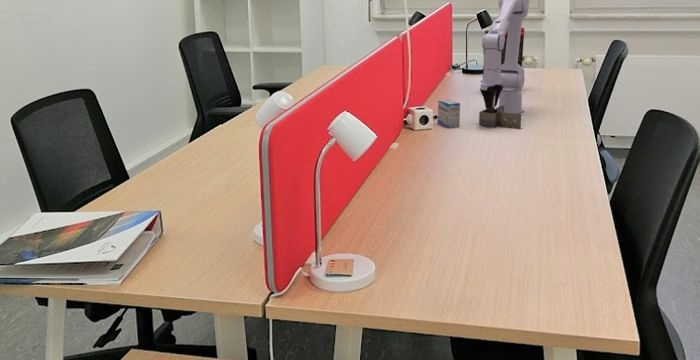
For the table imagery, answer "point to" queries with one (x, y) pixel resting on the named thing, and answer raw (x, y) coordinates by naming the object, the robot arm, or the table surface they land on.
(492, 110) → the grey metal cylinder
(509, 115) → the brown open box
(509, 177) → the table surface
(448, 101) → the medicine box
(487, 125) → the dark brown block
